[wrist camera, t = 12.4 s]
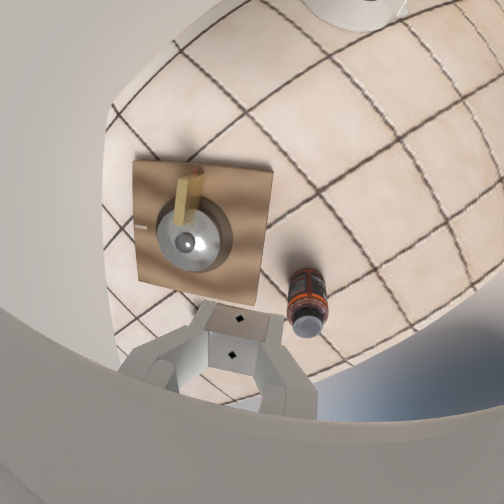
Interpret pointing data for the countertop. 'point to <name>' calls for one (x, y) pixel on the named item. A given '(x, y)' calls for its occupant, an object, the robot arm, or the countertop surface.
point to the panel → (226, 214)
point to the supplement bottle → (307, 303)
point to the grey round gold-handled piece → (189, 228)
